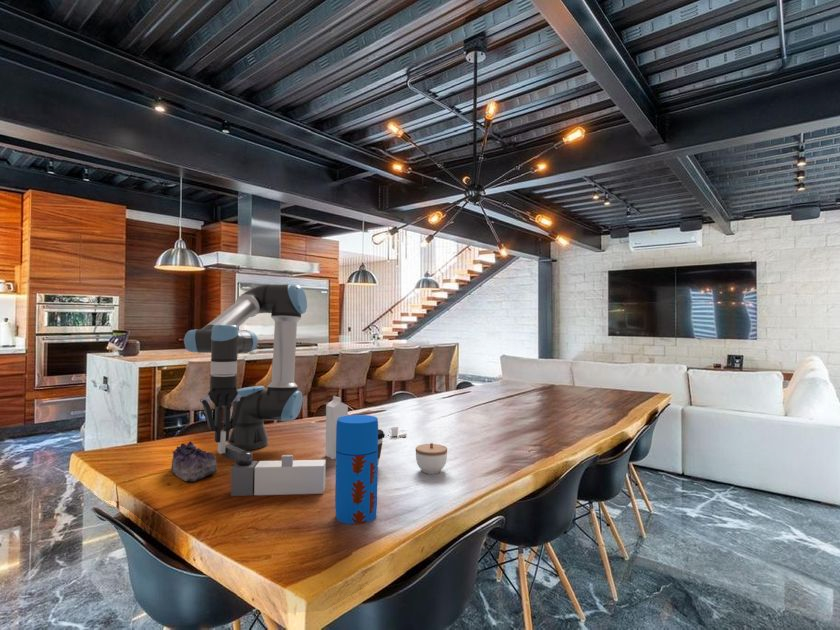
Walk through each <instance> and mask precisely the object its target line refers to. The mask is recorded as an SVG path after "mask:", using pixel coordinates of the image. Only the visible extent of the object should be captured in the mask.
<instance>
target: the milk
mask: <svg viewBox="0 0 840 630" xmlns="http://www.w3.org/2000/svg"><path fill="white" fill-rule="evenodd" d="M348 415H349V406H348V405H347V404H345V402H342V397H338V396H336V395H333V396H332V400H331V401H329V402H328V403H327V404H326V405H325V456H326V457H328V458H329V459H330V460H336V425H337V419H338V418H340V417H343V416H348Z"/></svg>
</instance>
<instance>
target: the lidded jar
mask: <svg viewBox="0 0 840 630" xmlns="http://www.w3.org/2000/svg"><path fill="white" fill-rule="evenodd" d="M447 456H448V447H446V446H445V445H442V444H437V443H434V442H430V443H423V444H420V445H417V446H416V447H415V460H416V464H417V466H418V467H419V469H420V470H421V472H422V473H424V474H428V475H436V474H439V473H440V472H441V471H442V470H443V469H444V467H445V466H446V463H447V460H448V459H447V458H448V457H447Z"/></svg>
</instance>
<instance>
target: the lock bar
mask: <svg viewBox="0 0 840 630" xmlns="http://www.w3.org/2000/svg"><path fill="white" fill-rule="evenodd" d="M218 455H219V456H222V457H224V458H227V459H229V460H231V461H233V462H234V463H236V462H237V463H238V465H250V464H252V461H253V451H250V450H242V449H240V448H238V447H235V446H233V445H230V444H229V443H228V442H226V446H225V453H222V454H220V453H219V452H218Z"/></svg>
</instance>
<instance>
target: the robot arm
mask: <svg viewBox="0 0 840 630" xmlns="http://www.w3.org/2000/svg"><path fill="white" fill-rule="evenodd" d="M307 300H308V299H307V295H306V292H305V290H304V288H303V287H302V286H301V285H298V284H290V283H289V284H269V283H268V284H261V285H258V286H255V287H253V288H250V289H248V290H246V291H245V292H243V293H242V294H240V295H239V296H238V297H237V298H236V301H235V303H233V304H232V305H231V306H229V307H228V308H227V309H225V310H224V311H222V313H220V314H219V315H217V316H216V317H215V318H214V319H213V320H212V321H210V322H209V323H208V324H206V325H205V326H203V327H202V328H200V329H198V328H197V329H190V330H188V331H187V332H186V333H185V335H184V339H183V344H184V348H185V349H186V351H188V352H191V353H198V354H202V353H204V354H205V353H206V354H208V353H209V354H211V355H210V356H211V357H210V375H211V376H210V379H209V391H208V394H207V396H206V397H204V398H201V399H199V400H200V401H199V402H200V404H201V405H202V406H203V410H204V415H205V420H206V423H207V427H208V429H209V430H210V431H211V432H212V431H213V432H214V441H215V443H217V453H218V454H219V453H220V454H222V453H225V446H226V443H229V444H230V445H233V446H235V447H238V448H240V449H242V450H245V451H250V450H252V451H253V450H257V449H261V448H265V447H267V446H268V444H269V437H268V434H267V431H266V427H265V424H264V423H265V422H264V420H265V421H281V422H285V421H294V420H296V419H297V417H298V416H299V414H300V413H301V409H302V406H303V398H304V397H303V393H302V391H301V390H298V389H299V386H298V385H297V383H296V382H295V373H296V372H295V371H296V370H295V369H296V368H295V367H296V350H297V348H296V347H297V332H298V330H297V328H298V327H297V326H298V322H299V321H300V320H302V315H303V314H305V313H306V312H307V309H308V301H307ZM258 314H271V315H270V316H271V319H272V320H273V321H274V329H273V332H274V333H273V350H272V351H273V353H272V366H271V367H272V370H271V371H272V372H271V381H270V383H269V384H268V385H267V387H265V386H264V385H255V386H254V385H253V386H248V387H242V388H238V389H237V385H238V384H237V383H238V377H237V373H238V355H239V354H248V353H252V352H253V351H255V349H256V348H257V347H258V343H259V339H258V336H257V335H256V333H255V332H253V331H252V330H247V329H246V330H245V329H243V330H239V327H240V326H241V325H243V324H244V323H245V322H246V321H248V319H249V318H253V317H255V316H257V315H258ZM211 402H212V403H213V404H214V418H213V414H212V413H213V412H212V409H211V406H210V404H211ZM231 409H232V413H231ZM222 413H223V414H222ZM222 415H223V416H222ZM222 417H223V418H222ZM222 421H223V422H222Z"/></svg>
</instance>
